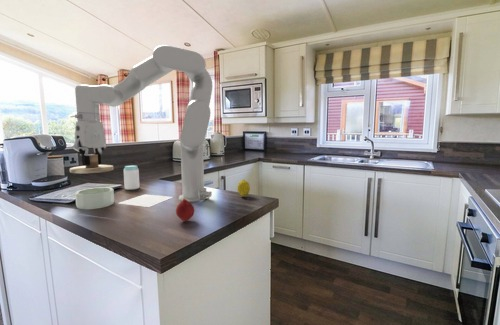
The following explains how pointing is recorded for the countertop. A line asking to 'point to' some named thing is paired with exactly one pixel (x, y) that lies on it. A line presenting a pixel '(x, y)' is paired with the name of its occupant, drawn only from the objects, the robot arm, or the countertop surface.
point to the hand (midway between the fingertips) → (92, 164)
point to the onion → (185, 210)
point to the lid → (92, 166)
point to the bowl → (94, 198)
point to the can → (131, 177)
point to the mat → (145, 200)
